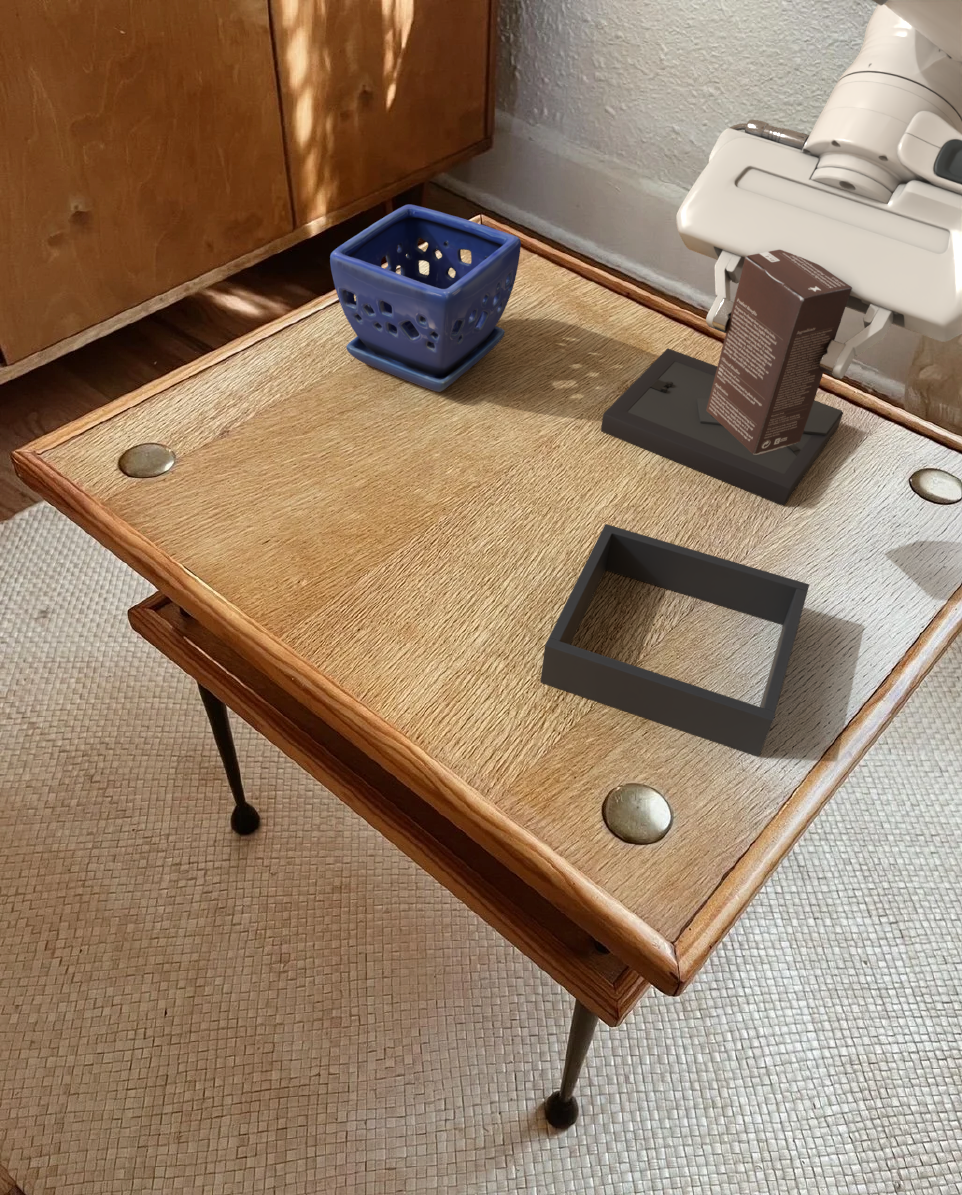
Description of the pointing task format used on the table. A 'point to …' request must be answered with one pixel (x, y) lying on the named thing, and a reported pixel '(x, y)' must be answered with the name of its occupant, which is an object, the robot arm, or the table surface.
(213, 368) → the table surface
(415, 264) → the flower pot
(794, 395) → the box
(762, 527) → the table surface
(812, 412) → the picture frame
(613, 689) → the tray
